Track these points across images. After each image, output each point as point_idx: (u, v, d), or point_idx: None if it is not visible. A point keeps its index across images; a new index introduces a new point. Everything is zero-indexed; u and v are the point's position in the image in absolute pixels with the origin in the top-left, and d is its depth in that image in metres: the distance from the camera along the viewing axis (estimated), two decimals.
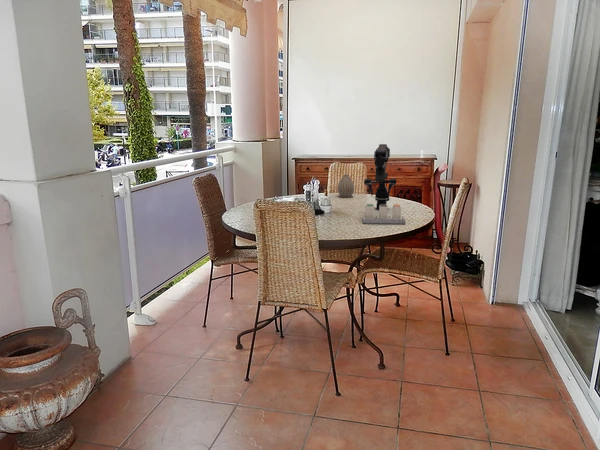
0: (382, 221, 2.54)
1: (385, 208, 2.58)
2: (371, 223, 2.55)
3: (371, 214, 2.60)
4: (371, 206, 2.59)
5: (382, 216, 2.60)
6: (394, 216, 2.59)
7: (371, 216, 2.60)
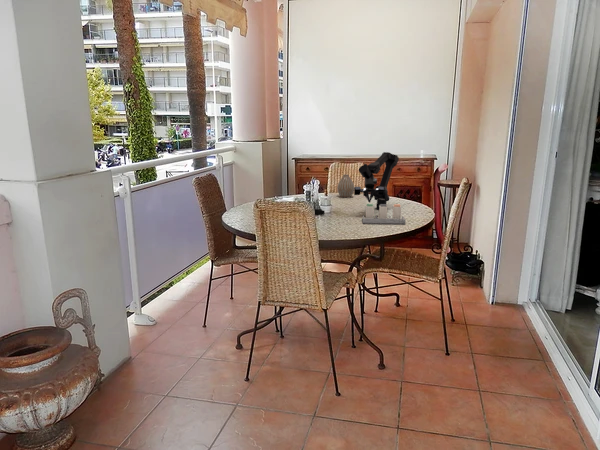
0: (382, 221, 2.54)
1: (385, 208, 2.58)
2: (371, 223, 2.55)
3: (371, 214, 2.60)
4: (371, 206, 2.59)
5: (382, 216, 2.60)
6: (394, 216, 2.59)
7: (371, 216, 2.60)
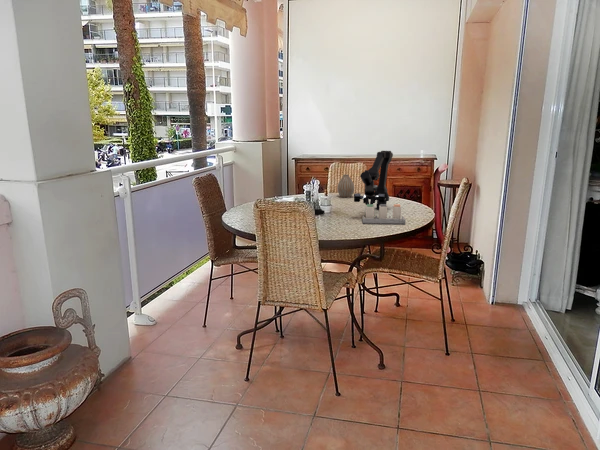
0: (382, 221, 2.54)
1: (385, 208, 2.58)
2: (371, 223, 2.55)
3: (371, 214, 2.59)
4: (371, 206, 2.58)
5: (382, 216, 2.60)
6: (394, 216, 2.59)
7: (371, 216, 2.59)
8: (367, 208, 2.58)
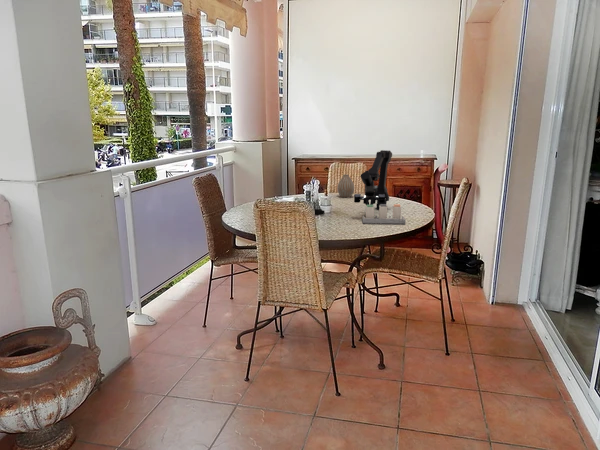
0: (382, 221, 2.54)
1: (385, 208, 2.58)
2: (371, 223, 2.55)
3: (372, 215, 2.58)
4: (371, 207, 2.57)
5: (382, 216, 2.60)
6: (394, 216, 2.59)
7: (371, 217, 2.58)
8: (367, 208, 2.57)
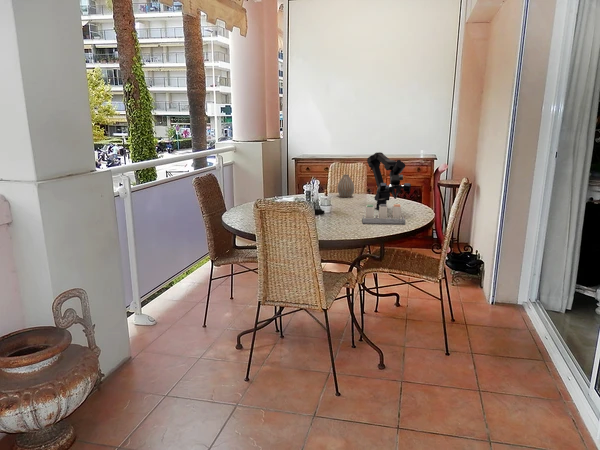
0: (382, 221, 2.54)
1: (385, 208, 2.58)
2: (371, 223, 2.55)
3: (372, 215, 2.58)
4: (371, 207, 2.57)
5: (382, 216, 2.60)
6: (394, 216, 2.59)
7: (371, 217, 2.58)
8: (367, 208, 2.57)
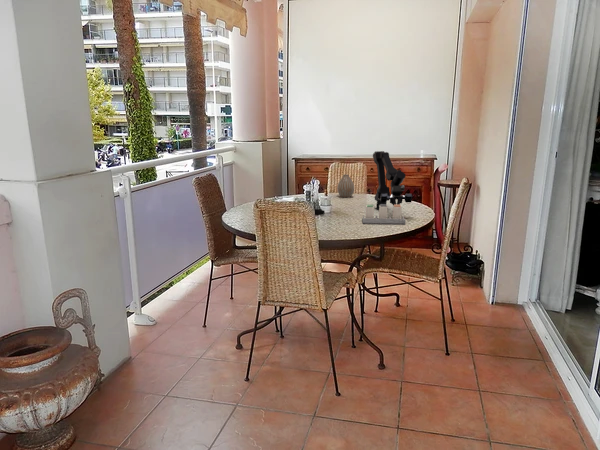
0: (382, 221, 2.54)
1: (385, 208, 2.58)
2: (371, 223, 2.55)
3: (372, 215, 2.58)
4: (371, 207, 2.57)
5: (382, 216, 2.60)
6: (394, 216, 2.58)
7: (371, 217, 2.58)
8: (367, 208, 2.57)
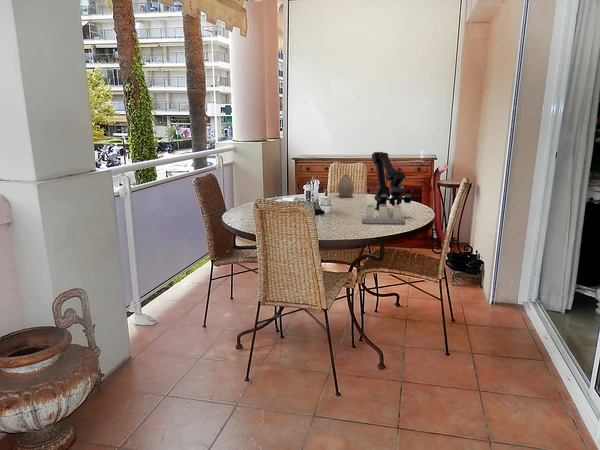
0: (382, 221, 2.54)
1: (385, 208, 2.58)
2: (371, 223, 2.55)
3: (372, 215, 2.58)
4: (371, 207, 2.57)
5: (382, 216, 2.60)
6: (394, 217, 2.57)
7: (371, 217, 2.58)
8: (367, 208, 2.57)
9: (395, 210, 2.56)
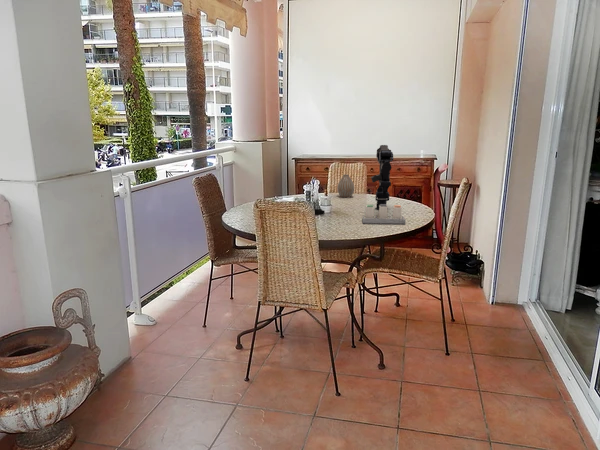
0: (382, 221, 2.54)
1: (385, 208, 2.58)
2: (371, 223, 2.55)
3: (372, 215, 2.58)
4: (371, 207, 2.57)
5: (382, 216, 2.60)
6: (394, 217, 2.57)
7: (371, 217, 2.58)
8: (367, 208, 2.57)
9: (395, 210, 2.56)
